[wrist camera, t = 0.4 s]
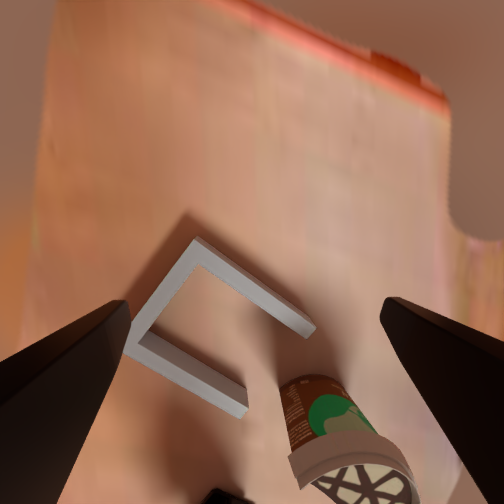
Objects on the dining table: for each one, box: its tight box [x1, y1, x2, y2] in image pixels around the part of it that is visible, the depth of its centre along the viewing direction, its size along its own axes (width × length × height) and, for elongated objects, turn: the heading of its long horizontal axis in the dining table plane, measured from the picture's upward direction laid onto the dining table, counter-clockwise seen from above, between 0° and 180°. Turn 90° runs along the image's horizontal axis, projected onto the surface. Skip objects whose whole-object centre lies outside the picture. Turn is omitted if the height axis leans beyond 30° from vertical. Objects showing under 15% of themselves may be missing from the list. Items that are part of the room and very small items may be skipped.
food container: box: [279, 374, 421, 504], centre depth 23 cm, size 12×6×10 cm, turn 46°
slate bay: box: [123, 236, 317, 419], centre depth 23 cm, size 12×14×2 cm
